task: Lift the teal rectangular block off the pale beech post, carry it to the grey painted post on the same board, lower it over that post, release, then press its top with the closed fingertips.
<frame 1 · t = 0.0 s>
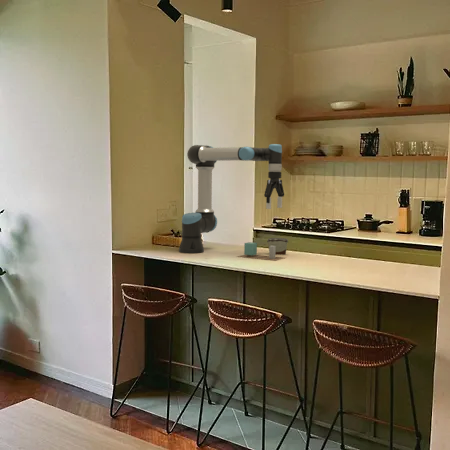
hand: (274, 208, 324), 28 cm above the breakfast bar, tool pointing down, fingers open, 13 cm apart
post a: (250, 256, 321), resting on board
post b: (272, 258, 313), resting on board
board: (261, 258, 317), on the breakfast bar
food container: (277, 255, 332), on the breakfast bar
teal rectangular block: (250, 254, 321), point 2 cm above the breakfast bar, touching post a
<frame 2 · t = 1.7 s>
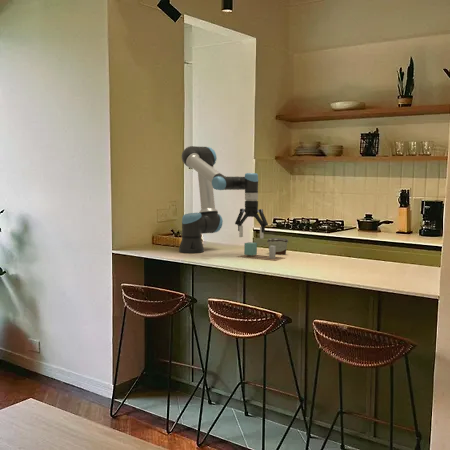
hand: (251, 237, 319), 11 cm above the breakfast bar, tool pointing down, fingers open, 13 cm apart
nothing on the breakfast bar moved.
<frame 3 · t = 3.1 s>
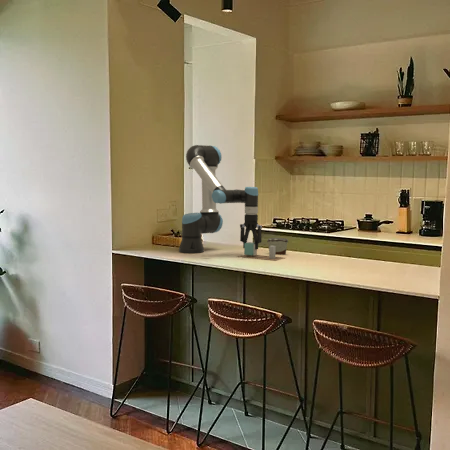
hand: (250, 254, 321), 2 cm above the breakfast bar, tool pointing down, fingers closed on teal rectangular block, 5 cm apart
teal rectangular block: (250, 254, 321), point 2 cm above the breakfast bar, touching gripper, post a
everything else where it was.
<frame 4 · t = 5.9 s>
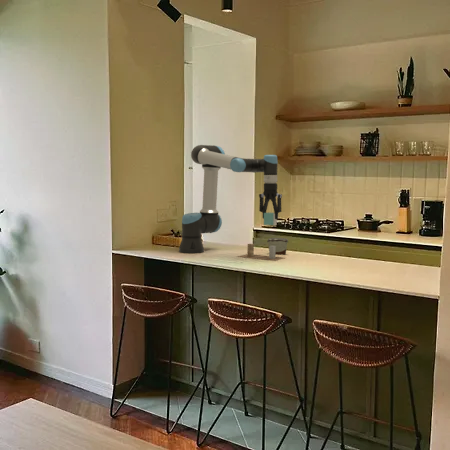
hand: (270, 224, 312), 20 cm above the breakfast bar, tool pointing down, fingers closed on teal rectangular block, 5 cm apart
teal rectangular block: (270, 224, 312), point 20 cm above the breakfast bar, touching gripper
everything else where it was.
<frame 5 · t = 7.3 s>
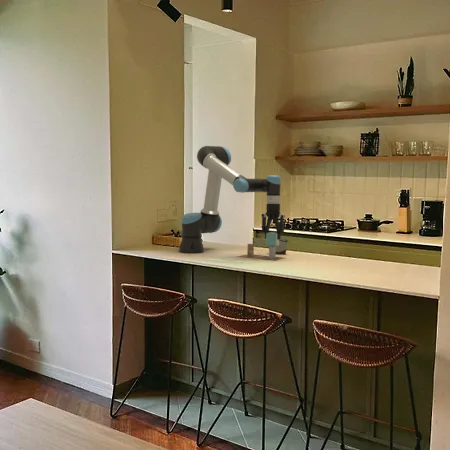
hand: (272, 244, 312), 8 cm above the breakfast bar, tool pointing down, fingers closed on teal rectangular block, 5 cm apart
teal rectangular block: (272, 244, 312), point 8 cm above the breakfast bar, touching gripper
everything else where it was.
when the fingers open (3 cm above the breakfast bar, at t = 8.6 s): teal rectangular block drops 2 cm, resting on post b.
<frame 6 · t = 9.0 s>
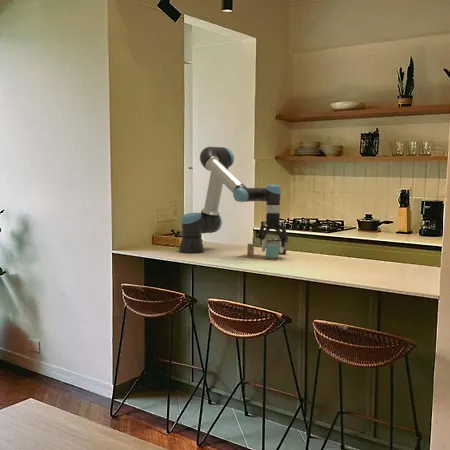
hand: (272, 252, 313), 4 cm above the breakfast bar, tool pointing down, fingers open, 10 cm apart
teal rectangular block: (272, 256, 313), point 2 cm above the breakfast bar, touching post b
everything else where it was.
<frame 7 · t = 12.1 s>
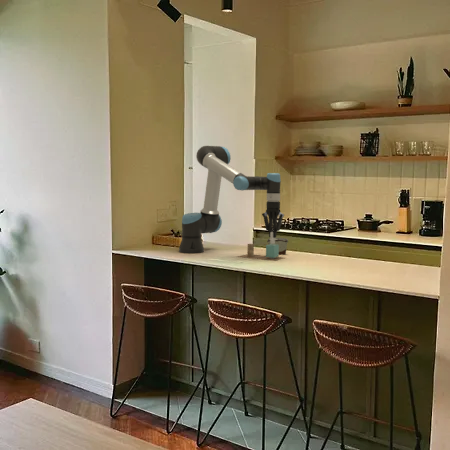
hand: (272, 243, 312), 9 cm above the breakfast bar, tool pointing down, fingers closed
nothing on the breakfast bar moved.
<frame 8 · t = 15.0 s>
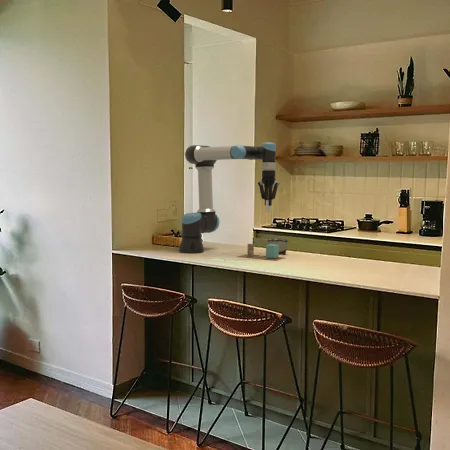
hand: (267, 211, 320), 26 cm above the breakfast bar, tool pointing down, fingers closed
nothing on the breakfast bar moved.
at the end: teal rectangular block 0.0 cm from the post b (horizontally); teal rectangular block point 1.8 cm above the breakfast bar; the gripper is holding nothing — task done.
